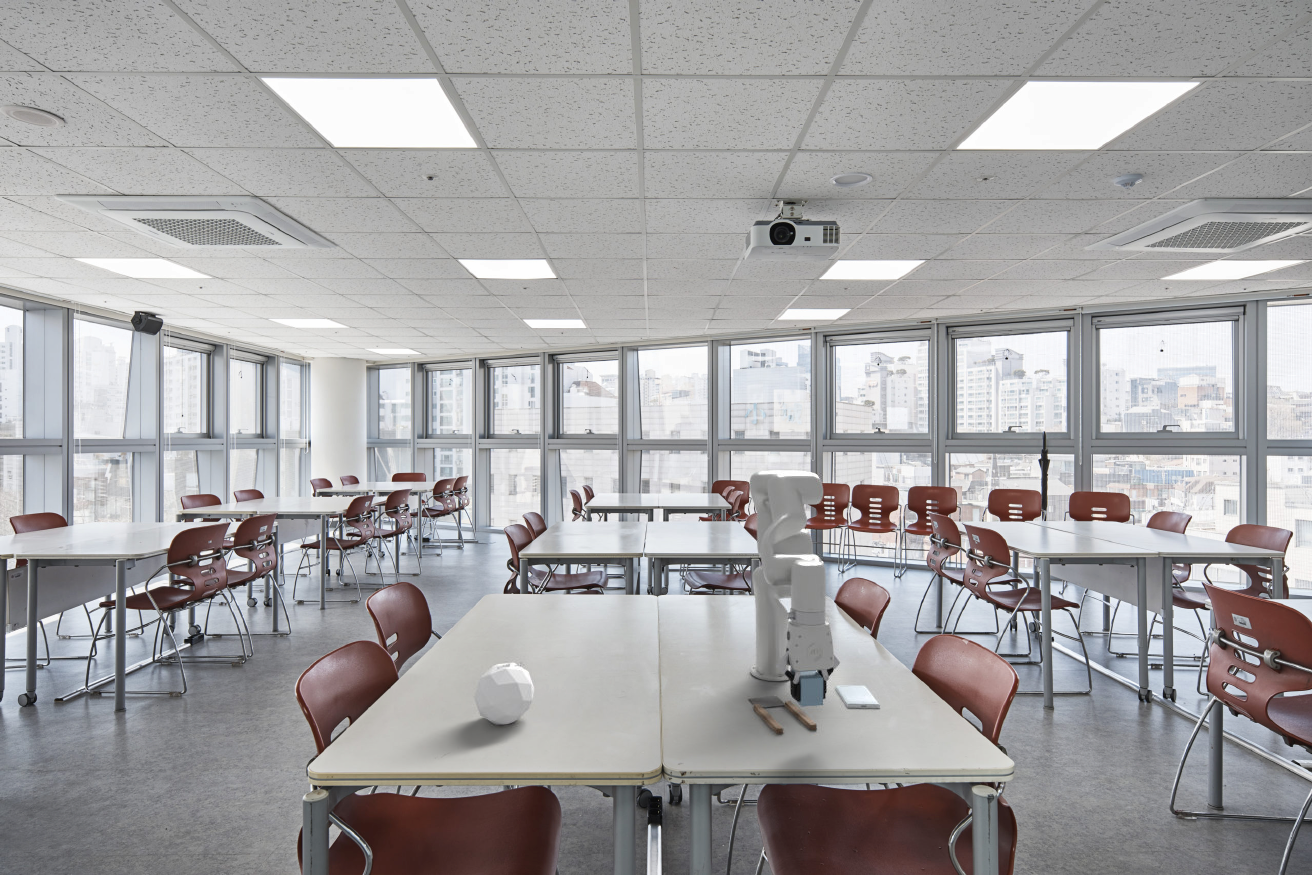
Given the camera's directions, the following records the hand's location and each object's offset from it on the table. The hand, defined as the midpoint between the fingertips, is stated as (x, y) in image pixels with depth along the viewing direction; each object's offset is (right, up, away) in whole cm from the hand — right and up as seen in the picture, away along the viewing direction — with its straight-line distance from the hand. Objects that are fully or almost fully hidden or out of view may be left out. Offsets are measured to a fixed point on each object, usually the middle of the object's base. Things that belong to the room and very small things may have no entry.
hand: (808, 697), depth 137 cm
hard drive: (+19, -11, +25) cm, 33 cm away
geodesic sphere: (-71, -11, +11) cm, 72 cm away
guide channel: (-4, -10, +15) cm, 19 cm away
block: (0, -1, 0) cm, 1 cm away
